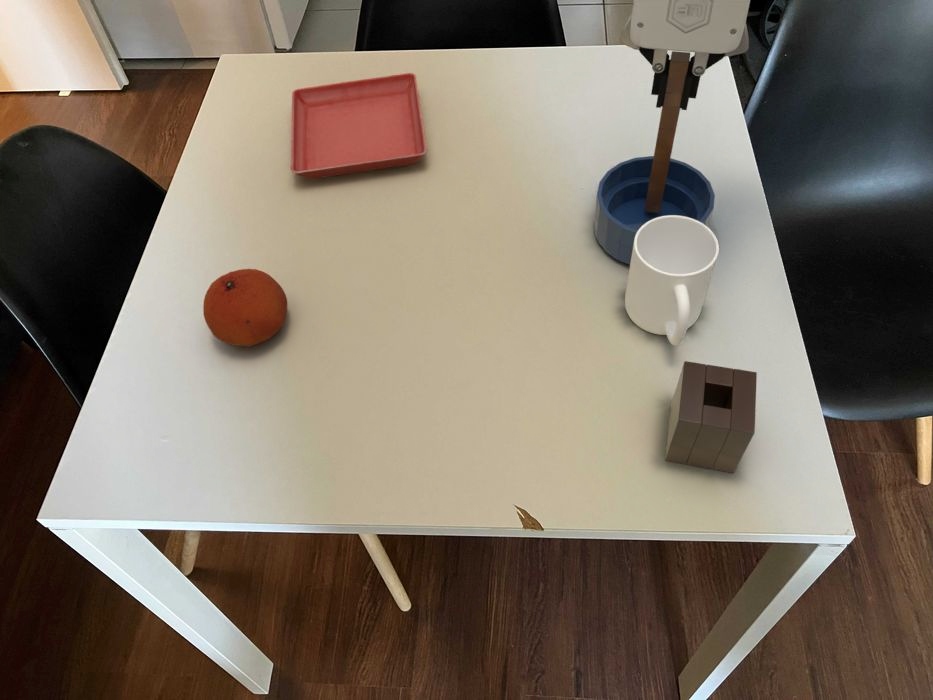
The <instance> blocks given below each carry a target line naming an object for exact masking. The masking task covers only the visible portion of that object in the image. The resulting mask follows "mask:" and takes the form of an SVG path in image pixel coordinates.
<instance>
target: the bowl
mask: <svg viewBox="0 0 933 700" xmlns="http://www.w3.org/2000/svg"><path fill="white" fill-rule="evenodd" d="M653 158H654V155H649V156H648V155H647V156H639V157H633V158H630V159H627V160H624V161H621V162H618V164H616V165H614V166H613V167H611V168H609V170H607V171H606V173H605V174H604V175H603V177H602V178H601V179H600V181H599V183H598V187H597V191H596V197H595V198H596V199H595V209H594V221H593V229H594V234H595V238H596V241H597V242H598V243H599V245H600V246H601V247H602V249H603V250H604V252H606V253H607V254H608V255H610V256H611V257H613V259H615V260H617V261H618V262H622V263H624V264H627V265H629V266H630V263H631V257H632V251H633V244H634V238H635V235H636V233H637V231H638V230H639V229H640V228H641V227H642V226H643V225H644V224H645V223H647V222H648V221H650V220H652V219H654V218H657V217H661V216H668V215H678V216H685V217H689V218H692V219H695V220H697V221H699V222H701V223H703V224H704V225H706V226H707V227H708V228H709V226H710V222H711V219H712V215H713V212H714V209H715V197H716V193H715V192H714V189H713V187H712V183H711V182H710V181H709V180H708V178H707V177H706V176H705V175H704V174H703V173H702V171H700V170H698V169H697V168H696V167H694V166H692V165H690V164H689V163H687V162H685V161H681V160H678V159H676V158H672V157H671V158H670V163H669V168H668V173H667V178H666V183H665V188H664V193H663V198H662V203H661V208H660V213H652V212H645V211H644V210H645V204H646V198H647V192H648V187H649V181H650V175H651V169H652V163H653Z"/></svg>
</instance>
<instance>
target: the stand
mask: <svg viewBox="0 0 933 700" xmlns="http://www.w3.org/2000/svg"><path fill="white" fill-rule="evenodd" d="M757 375H758V374H757V371H751V370H745V369H739V368H738V369H737V368H732V367H731V368H730V367H726V366H725V367H724V366H719V365H712V364H705V363H700V362H695V361H694V362H693V361H688V360H687V361H686V360H684V362H683V364H682V368H681V370H680V374H679V378H678V380H677V384H676V387H675V390H674V394H673V398H672V400H671V404H670V409H669V410H670V411H669V421H668V429H667V438H666V448H665V457H664V460H665V461H666V462H672V463H677V464H682V465H687V466H692V467H693V466H694V467H699V468H704V469H709V470H715V471H719V472H724V473H729V474H734V473H735V471H736V470H737V467H738V465H739V463H740V462H741V460H742V458H743V456H744V454H745V453H746V451H747V449H748V447H749V444H750V443H751V441H752V439H753V437H754V435H755V433H756V404H757V377H758V376H757Z"/></svg>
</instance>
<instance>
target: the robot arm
mask: <svg viewBox="0 0 933 700" xmlns="http://www.w3.org/2000/svg"><path fill="white" fill-rule="evenodd" d="M750 4H751V0H633V3H632V10H631V13H630V15H629V17H628V18H627V21H626V22H625V24H624V25H623V28H622V30H621V33H620V36H619V42H620V43H621V44H622V45H624V46H625V47H628V48H630V49H633V50H637V51H639V53H640V54H641V55H642V56H643V57H644V58H645V59H646V60H647V62H648V64H650V65H651V69H652V71H653V73H654V74H653V79H652V86H651V87H652V88H651V93H650V95H651V96H657V97H656V105H655V108H658V109H662V107H663V105H664V99H665V93H666V87H667V81H668V76H669V73H668V71H669V65H670V59H671V55H669V53H668V51H671V52H672V51H676V52H689V53H694V55H693V56H690V60H689V66H688V71H687V74H686V78H685V83H684V88H683V93H682V98H681V104H680V111H687V110H688V105H689V101H690V99H695V100H696V99H697V95H698V89H699V85H700V81H701V77H702V76H703V75H704V74H705V73H706V70H708V69H709V68H711V67H712V66H714V65H716V64H717V63H719V62H720V61H721V60H723V59H724V58H726V57H727V58H728V57H732V56H737V55H741V54H745V53H746V52H748V51H749V47H750V37H749V32H748V31H749V30H748V26H747V17H748V13H749V8H750Z"/></svg>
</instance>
